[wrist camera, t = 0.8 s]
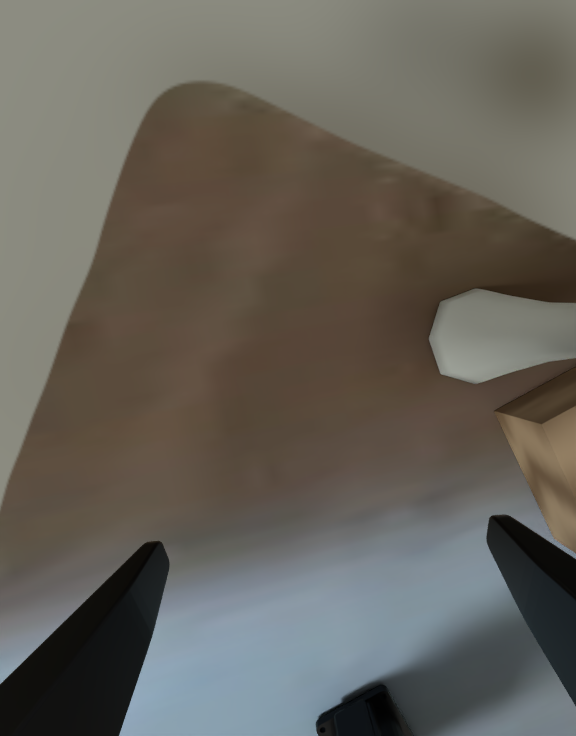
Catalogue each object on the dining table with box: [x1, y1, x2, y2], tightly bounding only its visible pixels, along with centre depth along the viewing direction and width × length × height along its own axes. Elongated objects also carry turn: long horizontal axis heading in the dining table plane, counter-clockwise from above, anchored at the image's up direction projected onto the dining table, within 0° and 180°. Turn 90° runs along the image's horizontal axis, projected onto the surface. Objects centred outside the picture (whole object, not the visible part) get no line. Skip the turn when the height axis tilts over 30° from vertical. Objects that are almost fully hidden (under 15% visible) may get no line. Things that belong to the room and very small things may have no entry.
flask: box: [429, 288, 576, 384], centre depth 17 cm, size 7×7×10 cm
